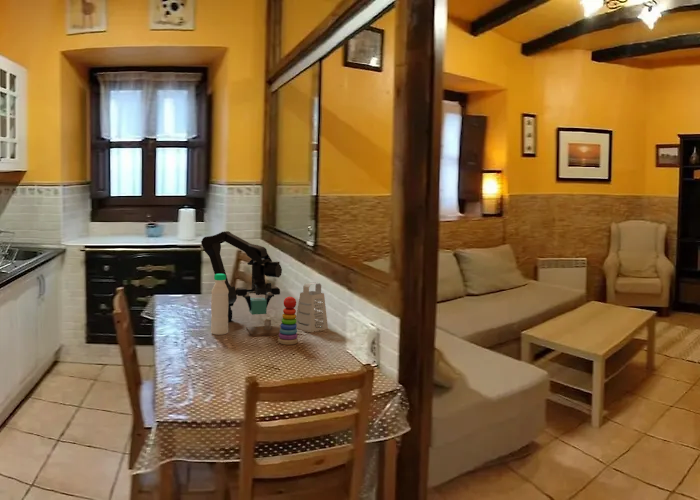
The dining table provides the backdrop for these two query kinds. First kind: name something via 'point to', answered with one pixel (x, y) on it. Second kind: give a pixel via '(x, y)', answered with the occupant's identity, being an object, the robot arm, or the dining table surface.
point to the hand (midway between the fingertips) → (257, 310)
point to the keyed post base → (262, 332)
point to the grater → (311, 309)
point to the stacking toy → (288, 323)
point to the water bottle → (219, 306)
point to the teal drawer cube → (258, 306)
